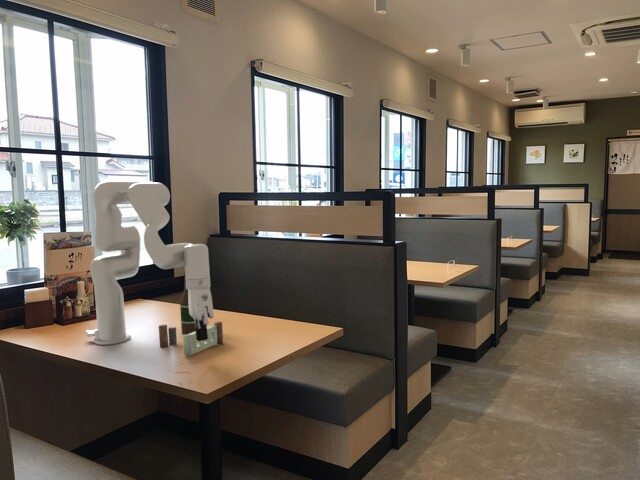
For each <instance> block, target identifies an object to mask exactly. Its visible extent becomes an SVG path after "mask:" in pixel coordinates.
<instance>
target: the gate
mask: <svg viewBox="0 0 640 480" xmlns="http://www.w3.org/2000/svg"><path fill="white" fill-rule="evenodd" d="M207 336H208V339H207V340H202V341H198V340H196V331H195V332H192V333H189V334H187V335H186V334H183V335H182V337H183V338H182V339H183V353H184V354H183V356H185V357H191V356H192V355H193V354H195V353H198V352H200V351H203V350H205V349H207V348H210V347H212V346H216V345H217V344H218V343H217V326H215V325H214V324H212V325H209V326H207Z"/></svg>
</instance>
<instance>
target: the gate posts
mask: <svg viewBox="0 0 640 480" xmlns="http://www.w3.org/2000/svg"><path fill="white" fill-rule="evenodd" d="M213 325H215V326H217V343H218V344H216V345H223V344H224V334H223V333H224V332H223V321H215V322H213ZM158 335H159V336H158V337H159V348H160V349H165V348H168V347H169V346H176V345H177V344H178V341H177V339H178V337H177V327H176V326H175V327H173V326H172V327H168V325H167V324H159V325H158Z"/></svg>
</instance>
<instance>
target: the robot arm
mask: <svg viewBox="0 0 640 480" xmlns="http://www.w3.org/2000/svg"><path fill="white" fill-rule="evenodd" d="M170 198H171V193H170V191H169V189H168V187H167V186H166V185H164V184H163V183H161V182H153V181H148V180H147V181H146V180H138V179H135V180H134V179H133V180H132V179H127V180H126V179H113V180H112V179H111V180H104V181H101V182H100V183H98V184H97V185H96V186H95V188H94V190H93V204H94V209H95V235H94V237H95V238H94V239H95V240H94V241H95V247H96V249H97V250H98V251H100V252H102V253H111V252H119V251H120V253H111V254H103V255H99V256H97V257H95V258H94V259H92V260H91V262H90V264H89V272H90V276H91V280H92V284H93V289H94V299H95V311H96V312H95V313H96V314H95V315H96V324H97V325H96V326H97V328H96V329H94V330H93V329H91V330H89V329H87V330H86V332H85V333H86V334H85V335H86V336H87V337H89V338H90V337H94V338H93V343H94V344H95V345H101V346H106V345H107V346H108V345H115V344H120V343H124V342H126V341H129V340H130V339H131V333H129V332H127V331H126V329H127V328H126V318H125V317H126V316H125V315H126V314H125V304H124V303H125V301H124V300H125V299H124V292H123V288H122V287H121V285H120V284H119V282H118V281H119V280H122V279H127V278H132V277H134V276H136V274H138V271H139V269H140V260H141V259H140V258H141V257H140V256H141V255H140V254H141V236H140V233H139V230H138V229H137V227H136V226H135V225H133V224H128V223H126V224H123V223H122V212H121V210H120V207H119V206H118V205H131V206H132V207H133V210H134V211H135V213H136V214H137V215H138V217H139V218H140V220H141V222H142V224H143V225H144V227H145V230H144V235H143V243H144V244H143V245H144V248H145V250H146V252H147V254H148V256H149V258H150V259H151V261H153V264H155V266H157V267H158V268H159V269H163V270H170V269H175V268H182V267H184V271H185V275H184V279H185V278H186V289H188V304H189V314H190V316H191V317H193V319H194V321H195V327H196V340H197V342H198V341H202V340H204V341H205V340H207V339H208V336H207V327H208V325H209V323H210V321H209V319H213V318H214V316H215V315H214V306H213V297H212V292H211V275H210V262H209V261H210V260H209V258H210V256H209V248H208V246H207V245H206V244H204V243H195V244H194V243H190V242H180V243H171V244H166V245H165V243H164V242H163V240H162V239H161V236H160V235H159V231H160V230H161V229H163V228H164V227H165V226H166V225H167V224H168V223H169V221H170V218H171V216H170V214H169V212H168V211H167V209H166V208H165V206H166V205H168V204H169V202H170V200H171V199H170Z"/></svg>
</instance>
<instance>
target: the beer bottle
mask: <svg viewBox="0 0 640 480" xmlns="http://www.w3.org/2000/svg"><path fill="white" fill-rule="evenodd" d="M183 275H184V276H185V270H184V271H183ZM183 285H184V288H183V292H182V295H181V297H180V301H179V304H180V305H179V307H180V310H179V311H180V325H181V326H180V327H181V334H182V335H187V334H189V333H192V332H195V331H196V327H195V321H194V319H193V317H191V316H190V314H189V304H188V289H186V278H185V277H184V283H183Z"/></svg>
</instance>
